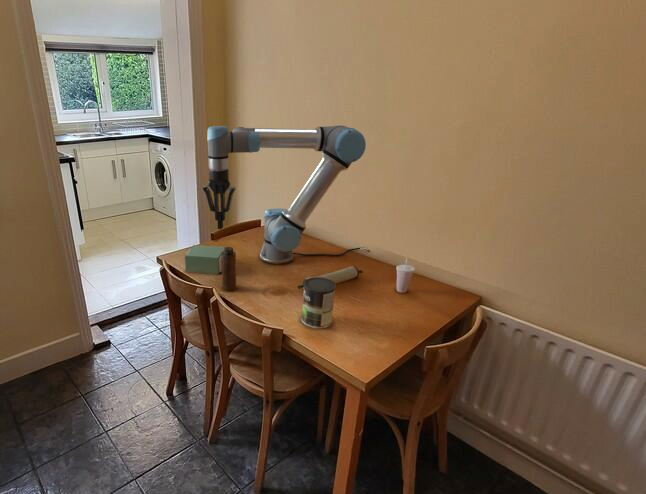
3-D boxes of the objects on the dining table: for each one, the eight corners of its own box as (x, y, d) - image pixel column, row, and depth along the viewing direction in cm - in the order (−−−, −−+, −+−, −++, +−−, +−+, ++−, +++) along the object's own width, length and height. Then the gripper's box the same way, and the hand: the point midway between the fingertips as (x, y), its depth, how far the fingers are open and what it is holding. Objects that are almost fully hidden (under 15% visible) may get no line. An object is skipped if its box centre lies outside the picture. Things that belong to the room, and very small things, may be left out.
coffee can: (305, 329, 135) (307, 291, 129) (298, 313, 144) (300, 277, 138) (335, 328, 135) (339, 290, 129) (327, 312, 145) (330, 276, 139)
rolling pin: (301, 296, 156) (302, 284, 153) (293, 290, 160) (293, 278, 158) (366, 278, 169) (367, 267, 167) (356, 273, 173) (358, 262, 171)
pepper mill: (237, 286, 164) (237, 246, 157) (234, 292, 159) (233, 251, 152) (224, 284, 165) (223, 245, 158) (221, 290, 160) (219, 250, 153)
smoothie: (410, 288, 161) (416, 255, 155) (410, 295, 155) (417, 261, 149) (392, 285, 163) (398, 253, 157) (392, 292, 157) (398, 259, 151)
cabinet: (225, 262, 185) (225, 247, 182) (218, 274, 174) (217, 257, 170) (194, 260, 188) (194, 244, 184) (185, 271, 177) (184, 255, 173)
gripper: (237, 167, 158) (238, 226, 168) (205, 166, 161) (207, 224, 171) (233, 171, 151) (234, 232, 161) (199, 170, 154) (202, 229, 164)
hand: (220, 227), depth 166 cm, fingers closed
